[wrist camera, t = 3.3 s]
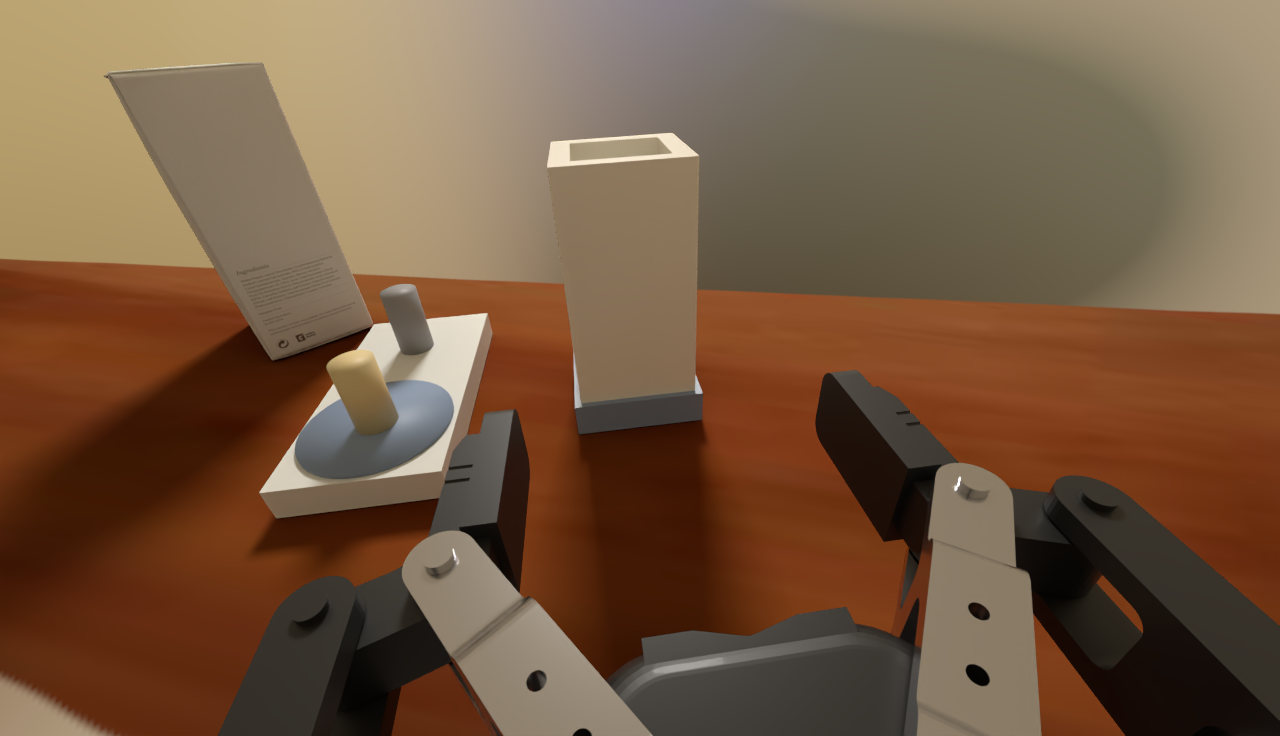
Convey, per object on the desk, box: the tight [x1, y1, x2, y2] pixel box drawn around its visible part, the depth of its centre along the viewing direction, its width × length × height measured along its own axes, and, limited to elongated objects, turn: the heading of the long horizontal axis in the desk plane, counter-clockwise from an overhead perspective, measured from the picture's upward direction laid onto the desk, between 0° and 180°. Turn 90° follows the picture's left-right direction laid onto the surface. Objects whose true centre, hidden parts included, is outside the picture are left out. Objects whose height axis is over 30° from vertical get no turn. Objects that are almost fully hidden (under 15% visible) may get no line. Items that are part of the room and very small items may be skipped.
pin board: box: [259, 284, 493, 518], centre depth 25 cm, size 14×7×5 cm, turn 7°
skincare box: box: [104, 63, 373, 360], centre depth 30 cm, size 8×7×16 cm
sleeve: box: [547, 133, 703, 434], centre depth 23 cm, size 6×6×12 cm
